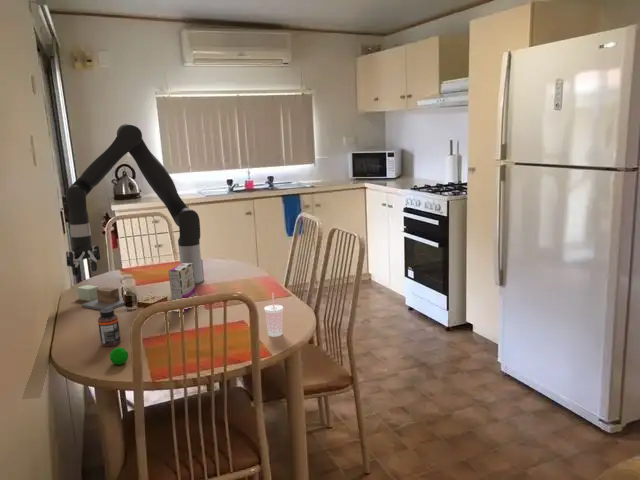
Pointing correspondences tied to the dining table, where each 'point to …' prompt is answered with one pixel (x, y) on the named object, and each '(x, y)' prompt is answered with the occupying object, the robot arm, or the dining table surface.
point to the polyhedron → (119, 356)
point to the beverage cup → (274, 319)
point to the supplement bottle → (109, 328)
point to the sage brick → (88, 292)
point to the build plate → (103, 304)
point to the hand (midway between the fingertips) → (85, 273)
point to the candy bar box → (182, 282)
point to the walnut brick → (108, 295)
